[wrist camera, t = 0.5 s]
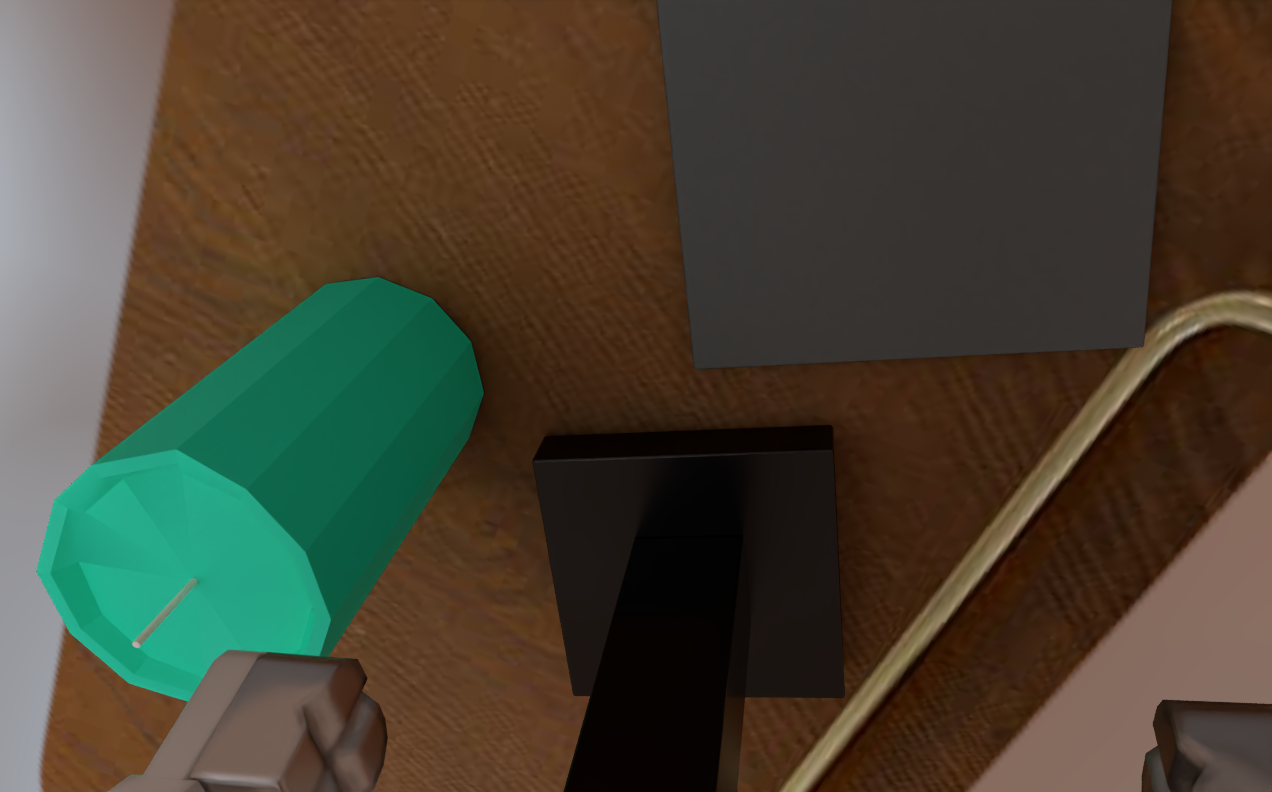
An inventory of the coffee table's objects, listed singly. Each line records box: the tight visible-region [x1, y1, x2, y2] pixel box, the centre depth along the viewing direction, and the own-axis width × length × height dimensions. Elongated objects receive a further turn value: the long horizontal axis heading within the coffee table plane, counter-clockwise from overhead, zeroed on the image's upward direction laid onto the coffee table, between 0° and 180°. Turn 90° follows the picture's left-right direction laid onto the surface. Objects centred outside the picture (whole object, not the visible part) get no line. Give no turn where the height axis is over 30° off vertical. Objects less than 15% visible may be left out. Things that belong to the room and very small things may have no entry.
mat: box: [657, 0, 1172, 369], centre depth 25 cm, size 10×11×1 cm
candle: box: [36, 277, 484, 702], centre depth 24 cm, size 6×6×12 cm
